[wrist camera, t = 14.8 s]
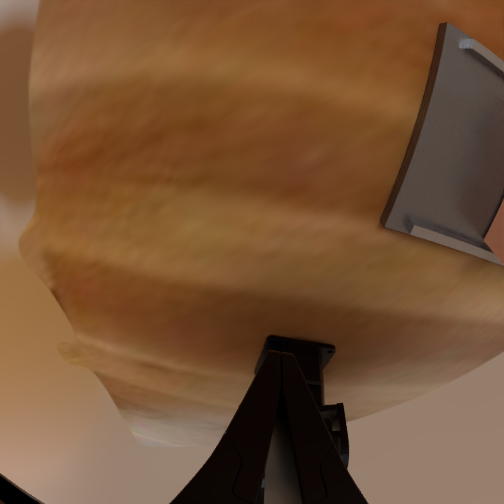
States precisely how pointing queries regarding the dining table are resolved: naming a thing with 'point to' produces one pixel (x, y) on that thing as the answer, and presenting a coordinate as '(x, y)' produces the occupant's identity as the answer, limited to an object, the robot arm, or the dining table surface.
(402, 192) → the vise base
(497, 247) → the sliding jaw
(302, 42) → the dining table surface
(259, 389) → the robot arm
